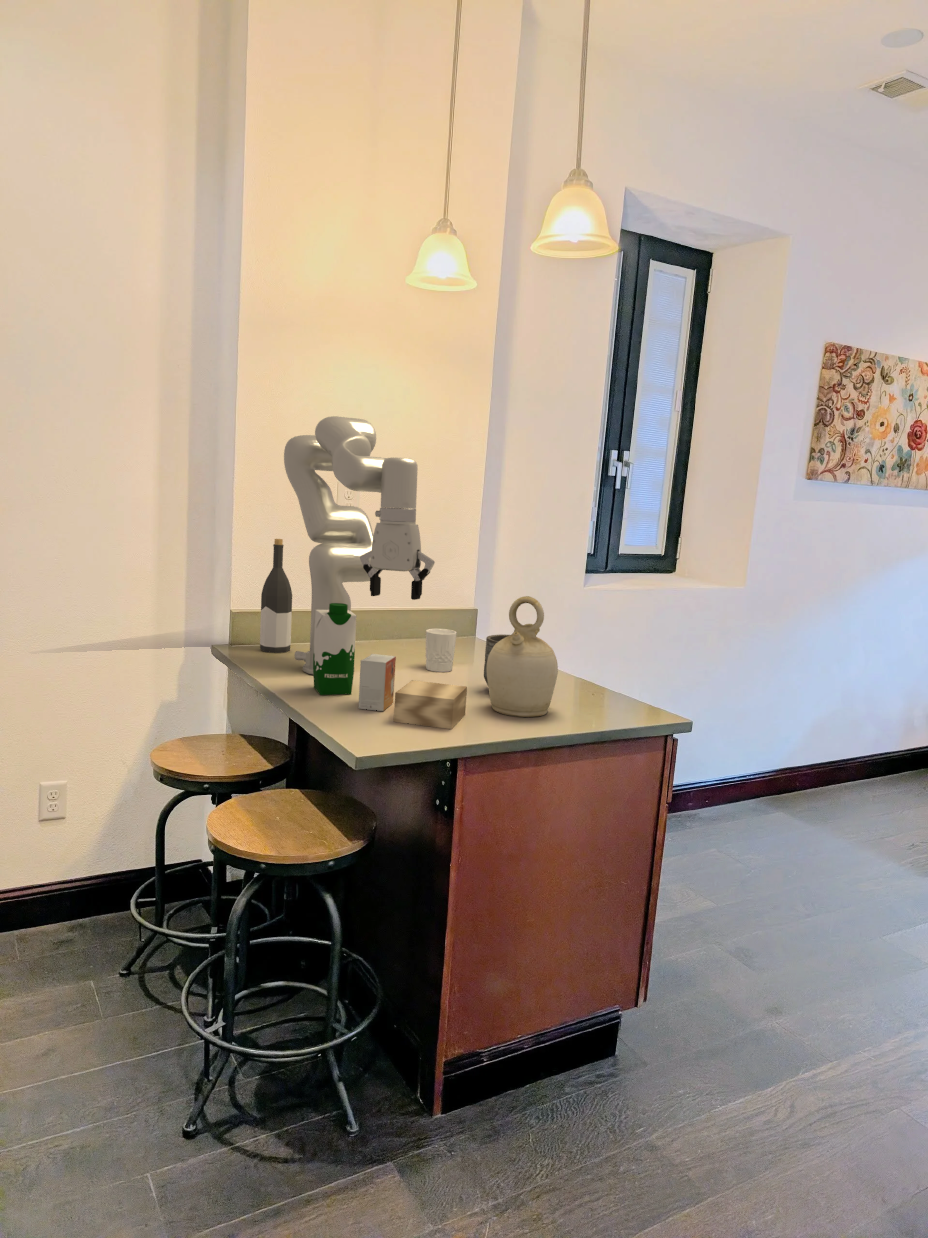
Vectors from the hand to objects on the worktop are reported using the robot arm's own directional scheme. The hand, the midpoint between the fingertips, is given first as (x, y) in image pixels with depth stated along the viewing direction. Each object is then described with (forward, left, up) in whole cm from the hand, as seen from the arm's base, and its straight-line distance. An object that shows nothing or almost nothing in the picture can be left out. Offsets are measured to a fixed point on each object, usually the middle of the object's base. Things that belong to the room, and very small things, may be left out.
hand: (395, 597), depth 189 cm
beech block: (+12, -9, -23) cm, 27 cm away
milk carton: (-14, +3, -23) cm, 27 cm away
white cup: (+2, +37, -23) cm, 43 cm away
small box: (-1, -5, -23) cm, 24 cm away
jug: (+28, +6, -23) cm, 36 cm away
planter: (+23, +21, -23) cm, 38 cm away
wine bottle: (-44, +38, -23) cm, 63 cm away
